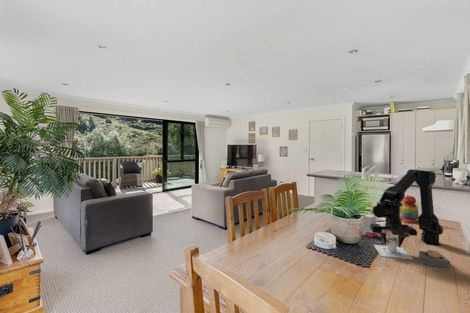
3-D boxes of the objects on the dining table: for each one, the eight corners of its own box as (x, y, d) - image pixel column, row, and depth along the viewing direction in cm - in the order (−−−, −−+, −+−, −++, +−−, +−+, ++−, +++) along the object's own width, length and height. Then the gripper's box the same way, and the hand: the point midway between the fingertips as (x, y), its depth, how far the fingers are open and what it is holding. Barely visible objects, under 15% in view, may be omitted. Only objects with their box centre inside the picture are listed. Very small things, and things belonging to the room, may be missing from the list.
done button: (436, 255, 106) (436, 250, 106) (442, 260, 102) (442, 255, 102) (425, 254, 107) (425, 249, 107) (430, 259, 103) (430, 253, 103)
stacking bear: (396, 218, 168) (397, 194, 167) (411, 218, 167) (412, 194, 166) (406, 223, 157) (406, 197, 156) (422, 223, 156) (423, 197, 155)
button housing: (439, 259, 107) (439, 252, 107) (449, 267, 100) (450, 261, 100) (418, 257, 110) (418, 250, 109) (427, 265, 102) (427, 258, 102)
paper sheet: (401, 247, 120) (401, 247, 120) (413, 259, 107) (413, 258, 107) (373, 245, 123) (373, 244, 123) (381, 256, 111) (381, 255, 111)
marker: (394, 250, 116) (395, 236, 116) (397, 253, 113) (398, 239, 113) (386, 249, 117) (387, 235, 117) (389, 252, 114) (389, 238, 114)
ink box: (376, 236, 136) (376, 216, 135) (372, 238, 133) (372, 217, 132) (361, 231, 143) (361, 212, 143) (357, 233, 140) (357, 214, 140)
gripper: (376, 218, 109) (375, 251, 110) (423, 221, 104) (422, 256, 105) (369, 212, 120) (369, 242, 121) (412, 214, 115) (411, 245, 115)
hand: (392, 246), depth 115 cm, fingers open, 6 cm apart
